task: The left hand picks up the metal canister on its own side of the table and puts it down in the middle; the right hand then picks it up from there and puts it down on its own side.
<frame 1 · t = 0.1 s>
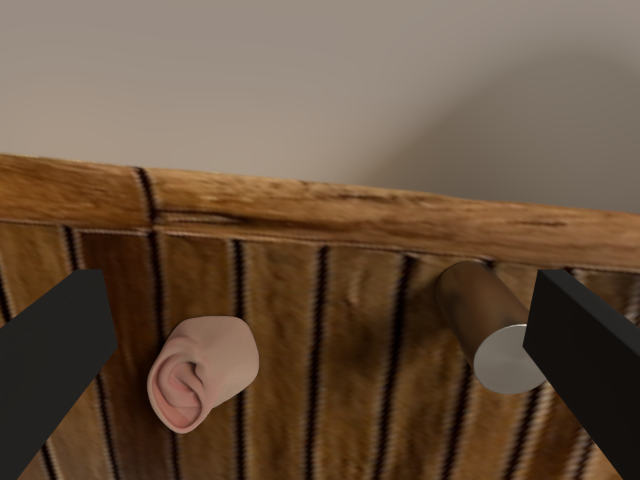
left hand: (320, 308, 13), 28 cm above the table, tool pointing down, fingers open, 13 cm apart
anatomical model: (207, 360, 47), on the table
canister: (466, 289, 44), on the table
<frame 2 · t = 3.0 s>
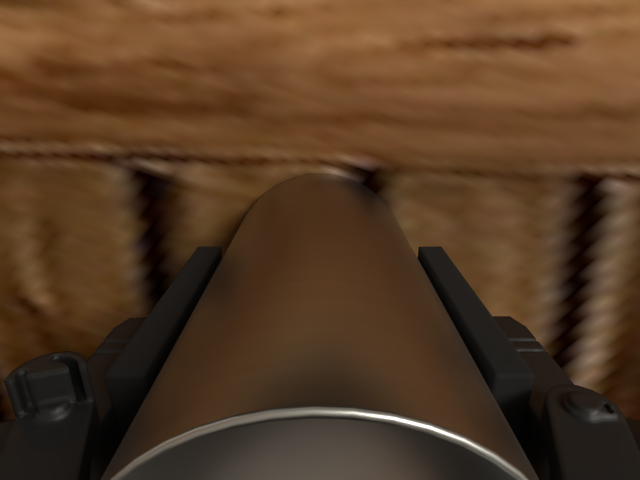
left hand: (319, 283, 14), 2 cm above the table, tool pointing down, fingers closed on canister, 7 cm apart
canister: (319, 255, 17), on the table, touching left hand
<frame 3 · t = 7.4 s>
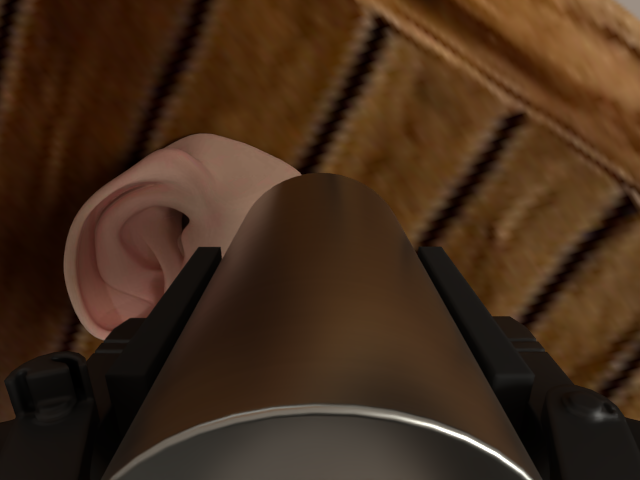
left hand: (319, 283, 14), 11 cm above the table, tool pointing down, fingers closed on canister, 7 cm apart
anatomical model: (200, 231, 25), on the table
canister: (320, 254, 17), point 8 cm above the table, touching left hand
when the left hand's fingers open (4 cm above the table, at t = 11.9 s): canister drops 1 cm, on the table.
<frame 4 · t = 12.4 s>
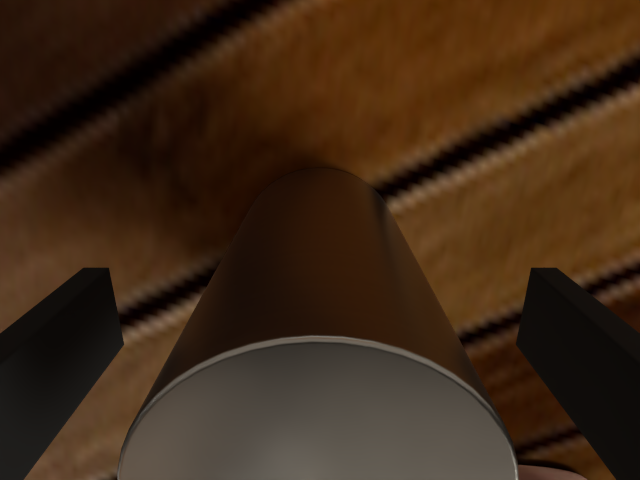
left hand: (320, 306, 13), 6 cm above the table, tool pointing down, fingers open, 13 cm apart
canister: (319, 243, 18), on the table
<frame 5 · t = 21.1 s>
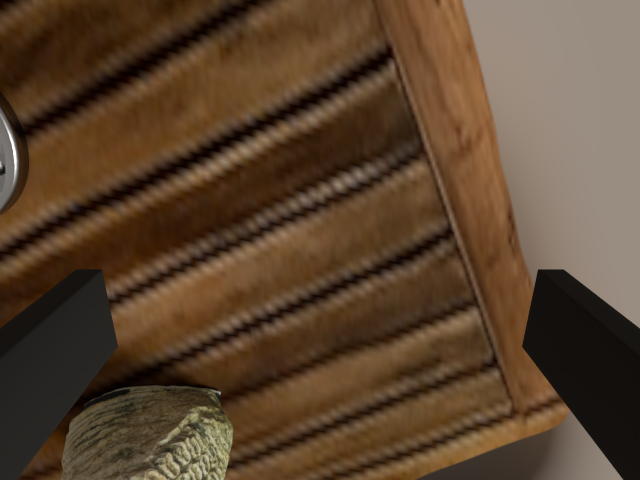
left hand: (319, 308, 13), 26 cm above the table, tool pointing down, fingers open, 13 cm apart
fossil: (161, 408, 47), on the table
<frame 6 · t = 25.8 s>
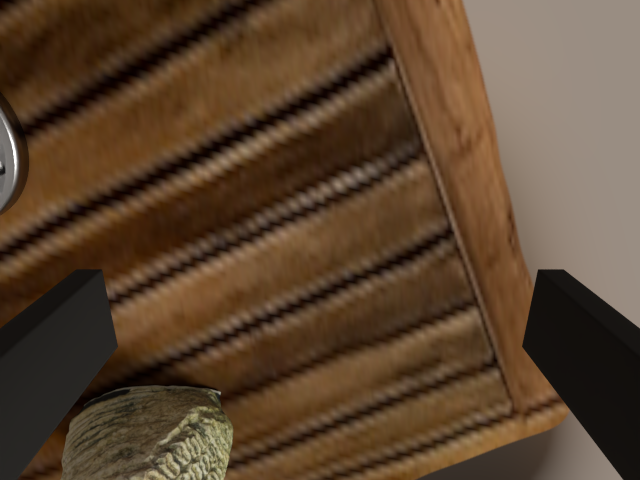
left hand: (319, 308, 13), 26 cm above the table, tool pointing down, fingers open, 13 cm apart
fossil: (161, 408, 47), on the table
when the right hand's fingers open (4 cm above the table, at t = 30.6 s): canister drops 1 cm, on the table.
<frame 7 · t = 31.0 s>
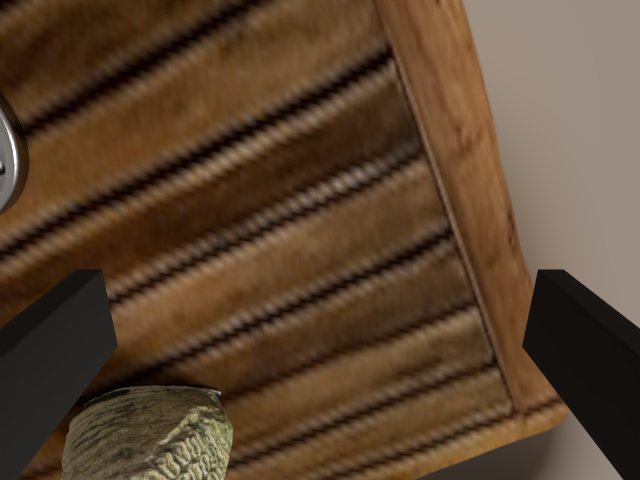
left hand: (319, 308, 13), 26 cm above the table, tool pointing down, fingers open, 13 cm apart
fossil: (161, 408, 47), on the table
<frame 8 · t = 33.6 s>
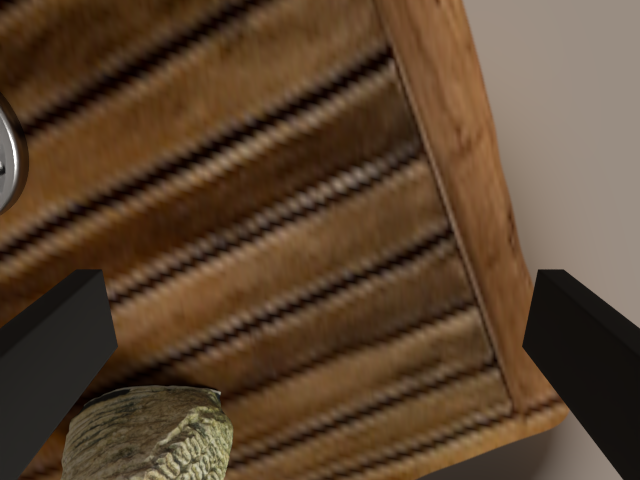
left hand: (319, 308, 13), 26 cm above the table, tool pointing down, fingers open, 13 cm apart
fossil: (161, 408, 47), on the table
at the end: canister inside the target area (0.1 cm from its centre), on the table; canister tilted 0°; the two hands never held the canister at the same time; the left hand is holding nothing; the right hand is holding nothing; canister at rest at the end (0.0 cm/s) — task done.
